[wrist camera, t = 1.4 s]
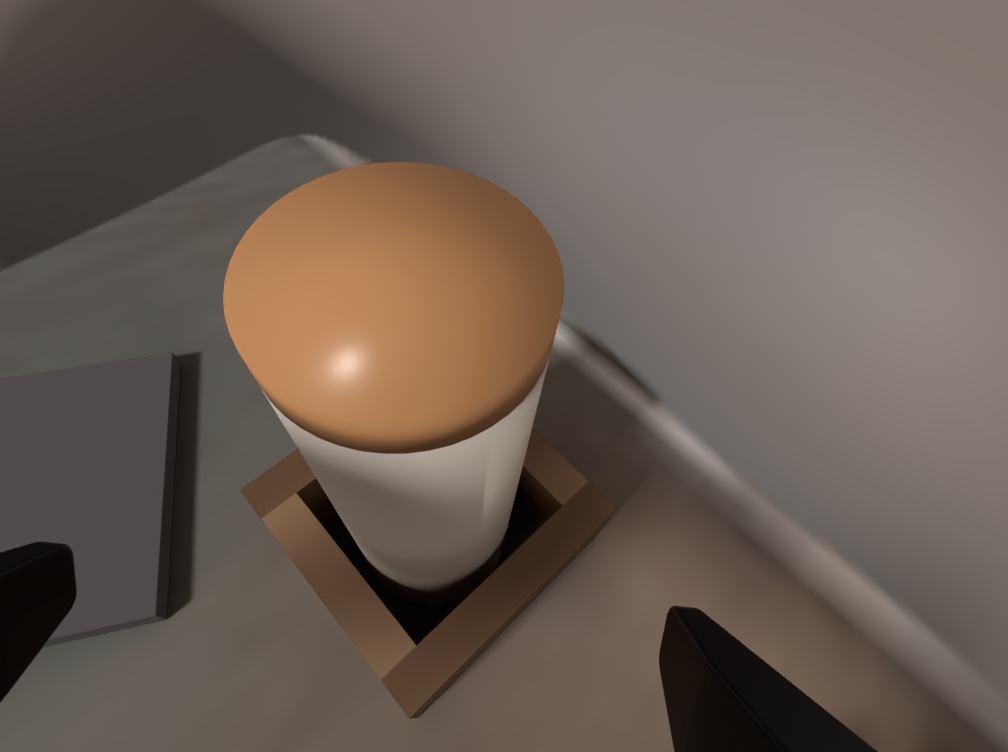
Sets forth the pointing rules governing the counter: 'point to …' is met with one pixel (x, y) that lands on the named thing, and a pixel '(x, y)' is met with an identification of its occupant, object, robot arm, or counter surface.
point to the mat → (95, 483)
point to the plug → (403, 356)
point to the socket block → (472, 624)
